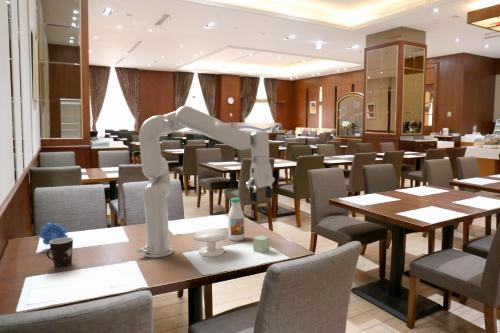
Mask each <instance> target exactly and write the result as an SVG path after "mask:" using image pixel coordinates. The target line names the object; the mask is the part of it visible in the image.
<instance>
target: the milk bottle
mask: <svg viewBox="0 0 500 333" xmlns="http://www.w3.org/2000/svg"><path fill="white" fill-rule="evenodd" d="M230 204H231V206H230V209H229V211H228V214H227V215H228V216H227V219H228V220H227V221H228V222H227V223H228V224H227V226H228V229H227V232H228V240H230V241H233V242H234V241H235V242H236V241H243V240H244V239H245V214H244V211H243V209H242V206H241V197H231V198H230Z"/></svg>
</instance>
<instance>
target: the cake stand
mask: <svg viewBox="0 0 500 333" xmlns="http://www.w3.org/2000/svg"><path fill="white" fill-rule="evenodd" d="M193 238H194V240H195V241H198V242H202V243H203V242H204V243H206V246H203V247H201V248H199V249H198V255H199V256H202V257H205V258H214V257H219V256H221V255H224V253H225V248H224V247H222V246H218V245H217V242H220V241H225V240H226V239H229V236H228V230H225V229H219V228H210V229H209V228H207V229H202V230H198V231H196V232H194V233H193Z"/></svg>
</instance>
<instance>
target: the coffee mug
mask: <svg viewBox="0 0 500 333" xmlns="http://www.w3.org/2000/svg"><path fill="white" fill-rule="evenodd" d="M49 243H50V244H49V247H50V248H48V250H47V251H46V256H47V258H48V259H49V260H52V261H53V266H54V268H55V267H56V268H65V267H68V266H70V265H72V264H73V262H72V261H73V244H74V239H73V237H69V236H68V237H63V238H57V239H53V240H51V241H50V242H49ZM50 252H51V257H50V255H49V253H50Z"/></svg>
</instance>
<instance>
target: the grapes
mask: <svg viewBox="0 0 500 333" xmlns="http://www.w3.org/2000/svg"><path fill="white" fill-rule="evenodd" d="M40 231H41V232H40V233H39V234H38V236H39V238H40V239H42V243H43V244H44V245H46V246H48V245H50V243H49V242H50V241H51V240H53V239H57V238H63V237H69V236H68V235H67V232H68V231H67V229H66V228H65V227H62V225H61V224H60V223H52V222H48V223H46V226H45V225H43V226H41V227H40Z"/></svg>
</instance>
